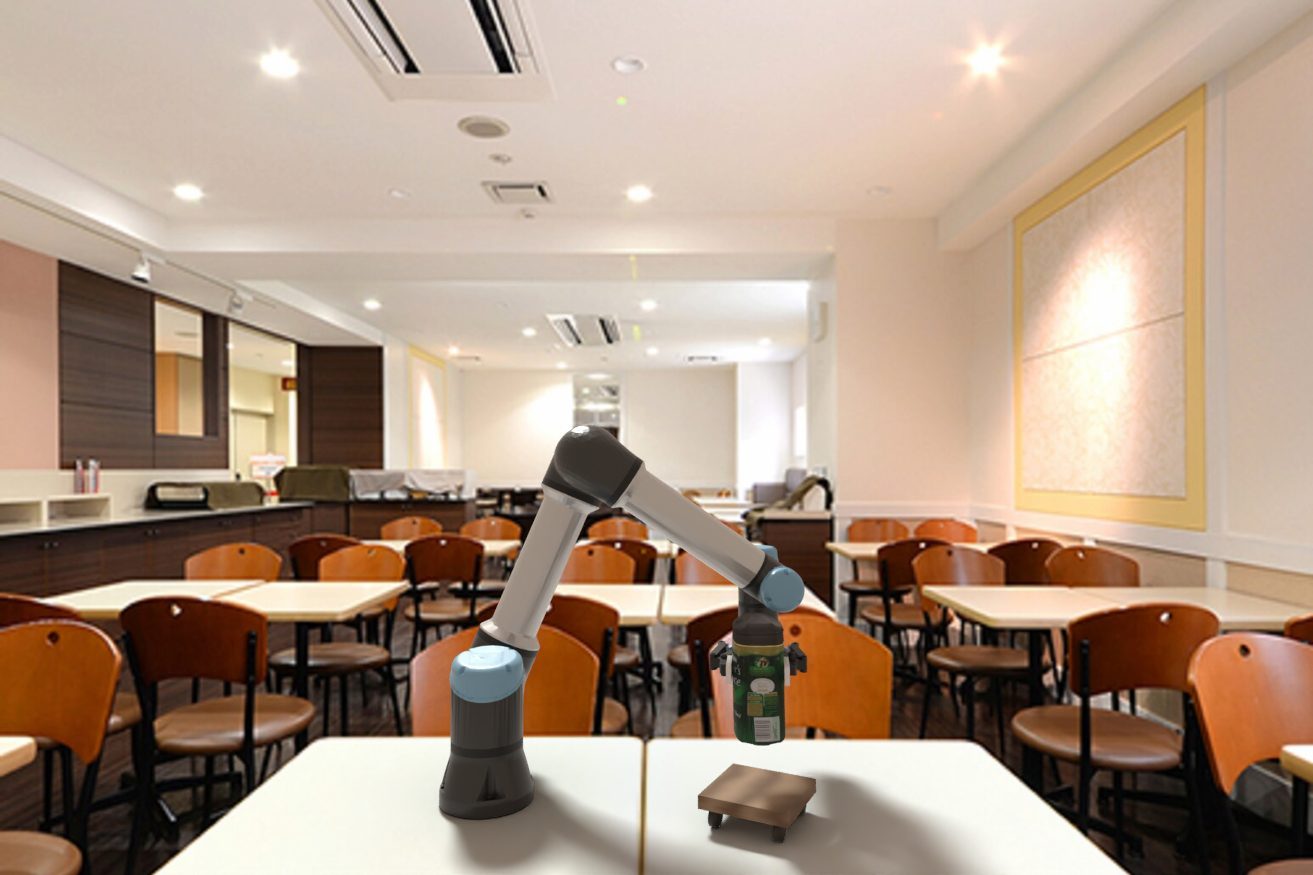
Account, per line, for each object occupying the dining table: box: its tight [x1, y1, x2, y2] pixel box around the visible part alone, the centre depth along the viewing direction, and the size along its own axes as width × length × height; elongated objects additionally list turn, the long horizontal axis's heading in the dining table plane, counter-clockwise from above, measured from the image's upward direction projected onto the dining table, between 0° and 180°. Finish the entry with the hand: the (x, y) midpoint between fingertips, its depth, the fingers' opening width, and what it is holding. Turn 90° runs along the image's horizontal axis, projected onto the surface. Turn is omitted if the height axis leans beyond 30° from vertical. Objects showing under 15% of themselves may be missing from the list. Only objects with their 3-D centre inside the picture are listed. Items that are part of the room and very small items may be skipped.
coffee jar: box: [731, 613, 786, 747], centre depth 122 cm, size 10×8×19 cm
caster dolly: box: [697, 763, 817, 843], centre depth 121 cm, size 14×14×5 cm
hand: (757, 675), depth 117 cm, fingers closed on coffee jar, 8 cm apart
